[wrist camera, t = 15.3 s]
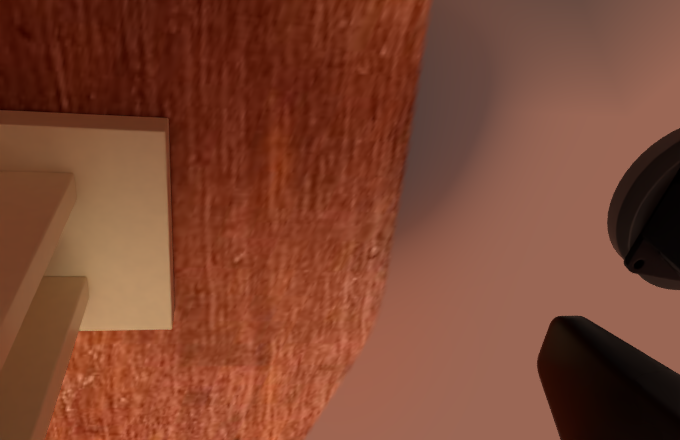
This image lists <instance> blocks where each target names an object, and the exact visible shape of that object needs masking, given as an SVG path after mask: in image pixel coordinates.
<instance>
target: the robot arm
mask: <svg viewBox="0 0 680 440" xmlns="http://www.w3.org/2000/svg"><path fill="white" fill-rule="evenodd" d="M636 261H637V262H636ZM635 262H636V263H635ZM624 265H625V266H626V267H627V268H628V270H629V271H631V272H632V273H636V274H642V275H648V276H653V277H659V278H665V279H670V280H676V281H680V168H679V170H678V172H677V173H676V175H675V177H674V178H673V180H672V182H671V183H670V185H669V186H668V188H667V190H666V191H665V193H664V195H663V196H662V198H661V200H660V201H659V203H658V205H657V206H656V208H655V209H654V211H653V213H652V214H651V216H650V218H649V219H648V221H647V223H646V224H645V226H644V227H643V229H642V231H641V232H640V234H639V236H638V237H637V239H636V241H635V242H634V244H633V246H632V247H631V249H630V250H629V252H628V254H627V255H626V257H625V259H624ZM537 368H538V373H539V377H540V379H541V383H542V386H543V389H544V392H545V395H546V398H547V400H548V403H549V406H550V409H551V412H552V415H553V418H554V421H555V424H556V427H557V430H558V433H559V436H560V439H561V440H680V375H679V374H678V373H676V372H674V371H673V370H671V369H669V368H668V367H666V366H664V365H663V364H661V363H660V362H658V361H656V360H655V359H653V358H651V357H649V356H648V355H646V354H645V353H643V352H641V351H640V350H638V349H636V348H635V347H633V346H631V345H630V344H628V343H626V342H624V341H623V340H621V339H619V338H618V337H616V336H614V335H613V334H611V333H610V332H608V331H606V330H605V329H603V328H601V327H600V326H598V325H596V324H595V323H593V322H591V321H590V320H588V319H586V318H585V317H582V316H558V317H556V318H554V319H553V320H552V321H551V323H550V325H549V328H548V331H547V334H546V336H545V339H544V342H543V344H542V347H541V350H540V353H539V355H538V360H537Z"/></svg>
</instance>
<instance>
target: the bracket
mask: <svg viewBox="0 0 680 440" xmlns="http://www.w3.org/2000/svg"><path fill="white" fill-rule="evenodd" d="M174 310H175V308H174V276H173V243H172V211H171V178H170V146H169V119H168V118H157V117H136V116H115V115H94V114H73V113H52V112H32V111H11V110H0V440H44V439H45V436H46V433H47V430H48V427H49V424H50V420H51V417H52V414H53V411H54V408H55V405H56V401H57V398H58V395H59V392H60V389H61V386H62V382H63V379H64V376H65V373H66V370H67V367H68V363H69V360H70V357H71V354H72V351H73V348H74V344H75V341H76V338H77V335H78V332H79V331H106V330H165V329H172V327H173V318H174Z"/></svg>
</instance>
